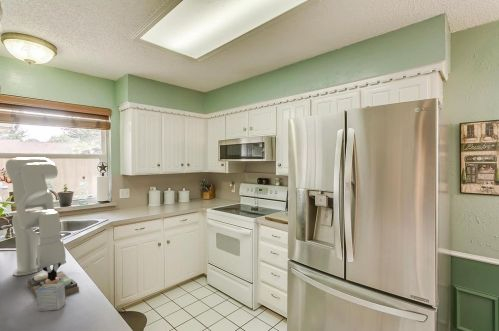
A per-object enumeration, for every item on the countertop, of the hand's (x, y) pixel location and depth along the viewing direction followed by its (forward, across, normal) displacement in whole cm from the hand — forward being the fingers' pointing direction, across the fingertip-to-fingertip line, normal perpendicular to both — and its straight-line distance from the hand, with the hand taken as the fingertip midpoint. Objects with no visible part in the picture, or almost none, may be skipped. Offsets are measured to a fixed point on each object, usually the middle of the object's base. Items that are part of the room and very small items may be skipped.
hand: (52, 279), depth 115 cm
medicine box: (+4, +4, +19) cm, 20 cm away
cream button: (+1, +2, -8) cm, 9 cm away
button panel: (+4, 0, 0) cm, 4 cm away
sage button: (+1, -3, +8) cm, 8 cm away
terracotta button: (+2, 0, 0) cm, 2 cm away
